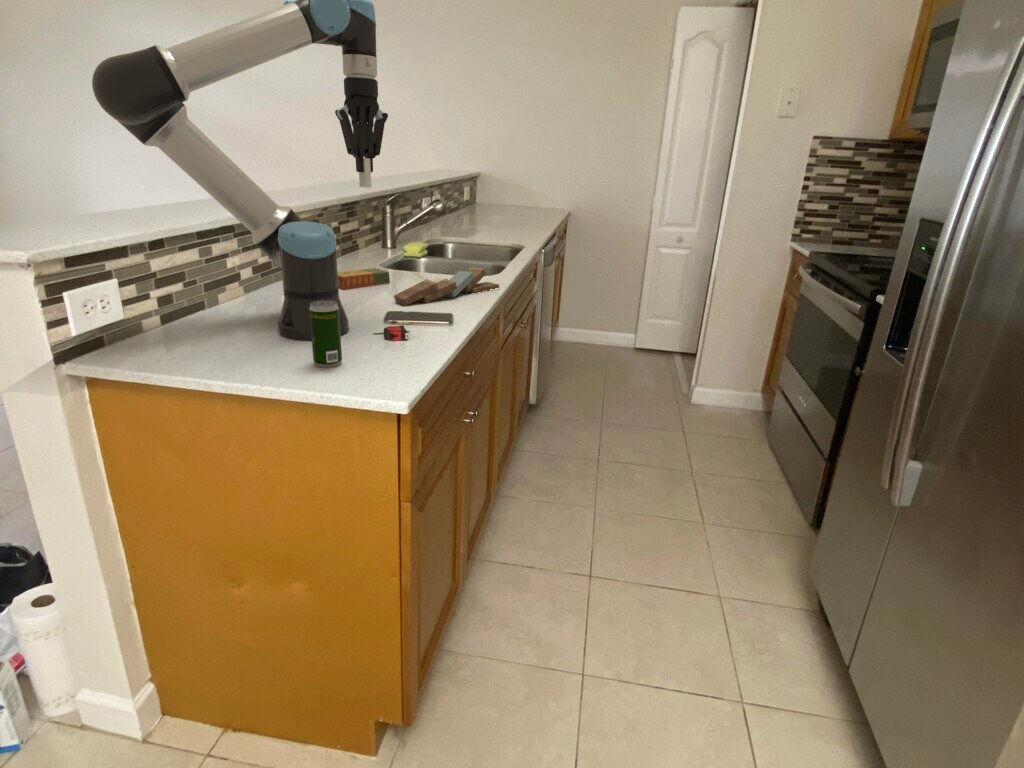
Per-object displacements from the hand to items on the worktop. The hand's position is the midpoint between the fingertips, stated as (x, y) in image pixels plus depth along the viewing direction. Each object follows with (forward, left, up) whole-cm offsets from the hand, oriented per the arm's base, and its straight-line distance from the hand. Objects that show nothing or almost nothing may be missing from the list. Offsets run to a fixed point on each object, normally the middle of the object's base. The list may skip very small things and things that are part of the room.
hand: (365, 186), depth 149 cm
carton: (-4, +32, -31) cm, 45 cm away
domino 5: (+27, +21, -30) cm, 46 cm away
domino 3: (+20, +15, -29) cm, 39 cm away
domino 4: (+25, +20, -29) cm, 43 cm away
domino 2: (+13, +10, -30) cm, 34 cm away
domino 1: (+7, +7, -29) cm, 31 cm away
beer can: (-7, -41, -31) cm, 52 cm away
